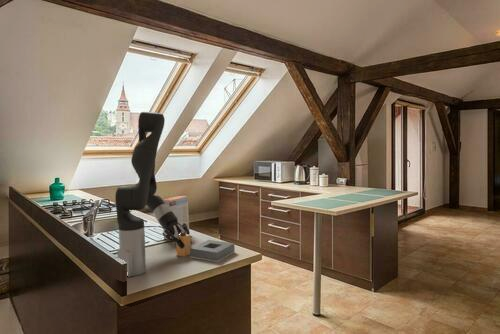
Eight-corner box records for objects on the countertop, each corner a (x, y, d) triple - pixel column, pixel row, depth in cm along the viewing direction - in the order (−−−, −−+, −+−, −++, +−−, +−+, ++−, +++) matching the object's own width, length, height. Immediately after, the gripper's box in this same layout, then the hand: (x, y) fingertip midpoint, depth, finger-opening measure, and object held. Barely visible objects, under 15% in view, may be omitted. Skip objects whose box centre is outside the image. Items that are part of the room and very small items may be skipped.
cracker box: (181, 233, 186) (180, 195, 185) (189, 234, 183) (188, 196, 182) (162, 239, 174) (161, 199, 173) (171, 240, 171) (169, 200, 170)
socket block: (217, 262, 139) (216, 252, 139) (189, 257, 146) (189, 248, 145) (234, 252, 151) (234, 243, 151) (208, 248, 158) (208, 239, 158)
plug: (184, 256, 147) (183, 233, 146) (176, 255, 149) (175, 232, 148) (190, 253, 151) (190, 231, 150) (183, 252, 153) (182, 230, 152)
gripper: (158, 214, 146) (181, 245, 141) (179, 208, 158) (201, 236, 153) (149, 225, 149) (171, 255, 144) (171, 218, 161) (192, 246, 156)
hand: (186, 245), depth 149 cm, fingers closed on plug, 4 cm apart
